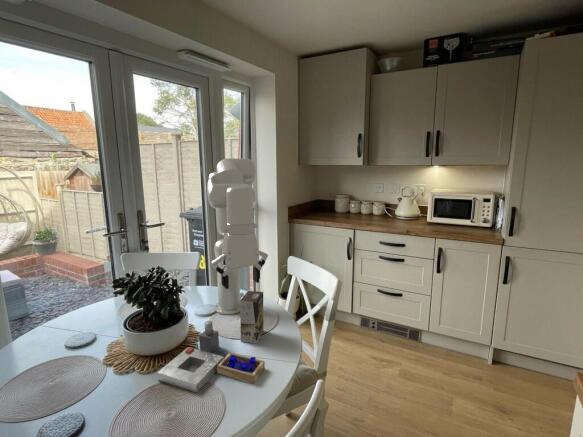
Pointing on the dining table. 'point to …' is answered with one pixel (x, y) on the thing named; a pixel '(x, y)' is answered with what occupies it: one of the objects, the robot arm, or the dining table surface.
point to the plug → (209, 338)
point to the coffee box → (251, 316)
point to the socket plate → (190, 369)
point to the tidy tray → (237, 373)
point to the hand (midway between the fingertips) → (241, 284)
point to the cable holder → (242, 364)
